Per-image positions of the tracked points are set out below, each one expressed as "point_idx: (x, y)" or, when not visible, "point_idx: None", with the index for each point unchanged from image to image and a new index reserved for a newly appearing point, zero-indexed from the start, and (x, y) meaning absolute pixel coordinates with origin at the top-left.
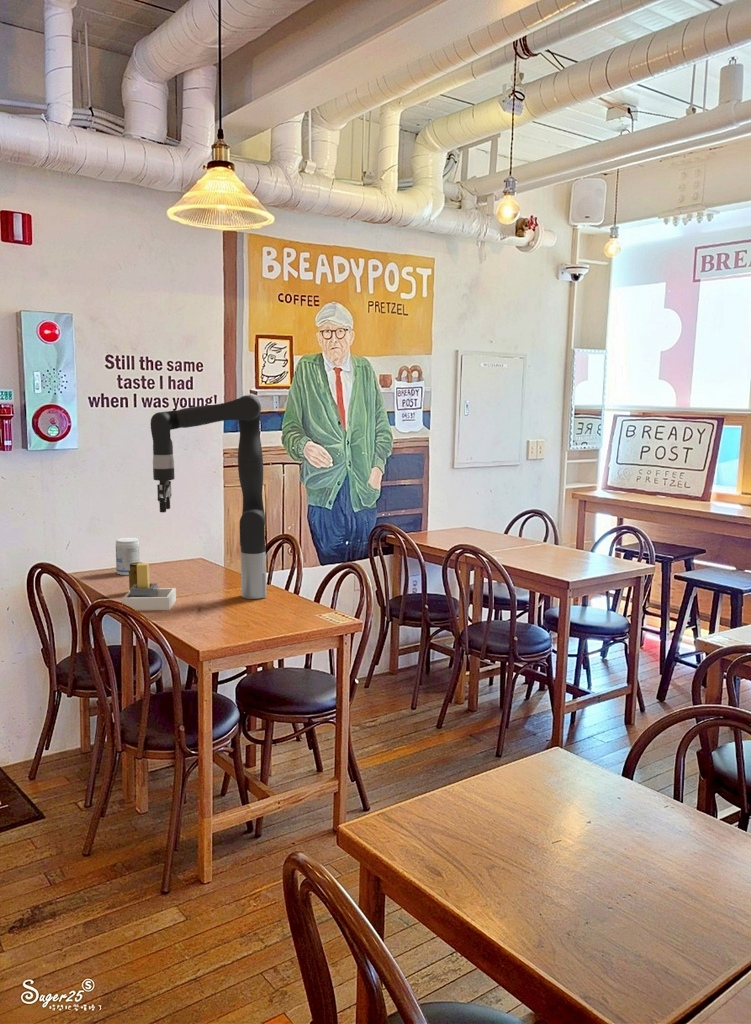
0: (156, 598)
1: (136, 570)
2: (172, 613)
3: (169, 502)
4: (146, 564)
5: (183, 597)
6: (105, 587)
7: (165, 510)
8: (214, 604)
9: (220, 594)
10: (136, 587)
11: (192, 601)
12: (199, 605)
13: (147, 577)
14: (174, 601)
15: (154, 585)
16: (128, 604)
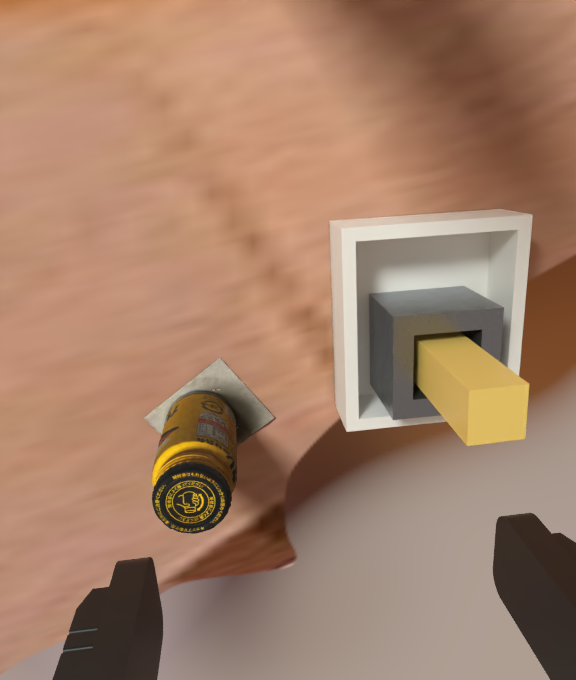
0: (525, 272)
1: (229, 476)
2: (529, 187)
3: (131, 649)
4: (509, 392)
5: (253, 203)
6: (97, 575)
7: (544, 528)
8: (390, 7)
9: (181, 8)
10: None
11: (329, 140)
12: (405, 87)
13: (493, 357)
14: (374, 218)
15: (439, 318)
16: None
